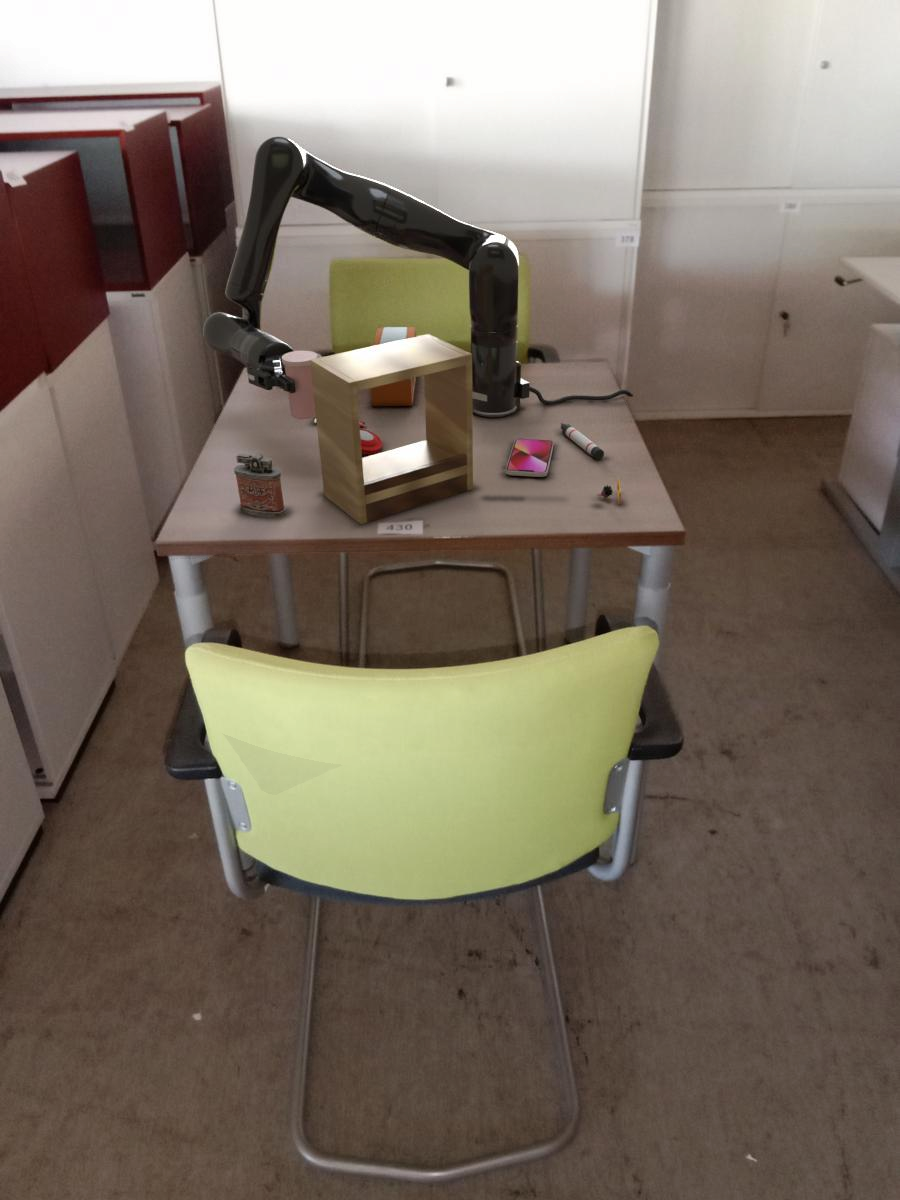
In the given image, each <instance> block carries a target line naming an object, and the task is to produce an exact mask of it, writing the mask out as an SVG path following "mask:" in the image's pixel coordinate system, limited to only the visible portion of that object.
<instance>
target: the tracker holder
mask: <svg viewBox="0 0 900 1200" xmlns="http://www.w3.org/2000/svg"><path fill="white" fill-rule="evenodd" d="M359 425H360V438H361V451H362V455H368V456H371V455H375V454H378V453H381V451H382V449H383V444H384V443H383V441H382V439H381V438H380V437H379V436H378V435H377V434H375V433H374V432H372V431H371V430H369V429H368V426H367V425H366V422H365V421H363V420H362V419H359ZM367 429H368V430H367Z"/></svg>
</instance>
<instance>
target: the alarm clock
mask: <svg viewBox="0 0 900 1200" xmlns="http://www.w3.org/2000/svg"><path fill="white" fill-rule="evenodd" d="M412 337H417V332H416V327H414V326H384V327H378V328H377V329H376V333H375V337H374V341H373V344H372V346H376V345H380V344H385V343H389V342H394V341H398V340H403V339H408V338H412ZM416 380H417V377H415V378H411V379H407V380H402V381H398V382H394V383H390V384H386V385H382V386H378V387H373V388H369V390H370V401H371V405H372V407H411V406H413V404H414V396H415V388H416Z"/></svg>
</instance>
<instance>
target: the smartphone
mask: <svg viewBox="0 0 900 1200" xmlns="http://www.w3.org/2000/svg"><path fill="white" fill-rule="evenodd" d="M554 443H555V442H554V441H553V440H551V439H540V438H539V439H537V438H515V440H514V441H513V444H512V447H511V451H510V454H509V457H508V461H507V463H506V466H505V474H507V475H509V476H519V477H537V478H538V477H539V478H544V477H546V476H548V474H549V469H550V465H551V459H552V454H553V450H554Z"/></svg>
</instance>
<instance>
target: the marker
mask: <svg viewBox="0 0 900 1200" xmlns="http://www.w3.org/2000/svg"><path fill="white" fill-rule="evenodd" d="M560 429H561V430H562V433H563V435H565V436H566V437H567V438H569V439H570V440H571V441H573V442H574V443H575V445H577V446H579V447H580V448H581V449H583V450H584V451H585V452H586V453H587V454H589V455H590V456H591V457H593V458H594V459H595V460H602V459H603V457H604V455H605V452H604V450H603V449H601V447H599V445H597V444H595V443H594V442H593V441H592V440H590V439H589V438H588V437H587V436H586V435H584V434H583V433H582V432H580V431H579V430H577V428H575V427H573V426H572V425H571V424H568V423H562V422H561V424H560Z"/></svg>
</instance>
